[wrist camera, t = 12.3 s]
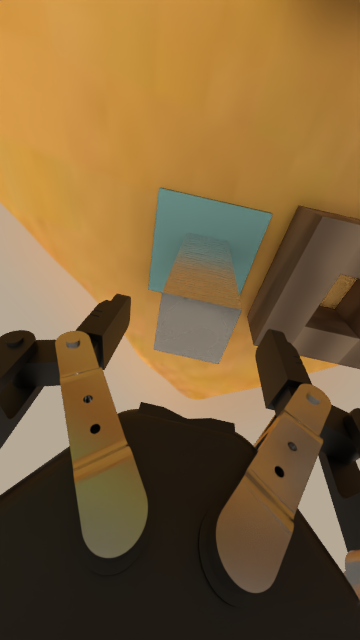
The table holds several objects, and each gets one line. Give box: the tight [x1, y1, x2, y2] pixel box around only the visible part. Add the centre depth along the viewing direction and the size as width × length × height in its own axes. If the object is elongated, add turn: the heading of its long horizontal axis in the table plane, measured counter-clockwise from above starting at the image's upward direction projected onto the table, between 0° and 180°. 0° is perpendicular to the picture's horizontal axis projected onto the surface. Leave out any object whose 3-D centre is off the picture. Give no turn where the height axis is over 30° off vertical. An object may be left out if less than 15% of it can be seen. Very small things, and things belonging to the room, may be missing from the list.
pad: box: [148, 188, 272, 295], centre depth 22 cm, size 10×10×1 cm
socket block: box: [247, 206, 360, 369], centre depth 20 cm, size 12×12×5 cm
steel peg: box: [154, 232, 242, 364], centre depth 16 cm, size 4×4×12 cm
